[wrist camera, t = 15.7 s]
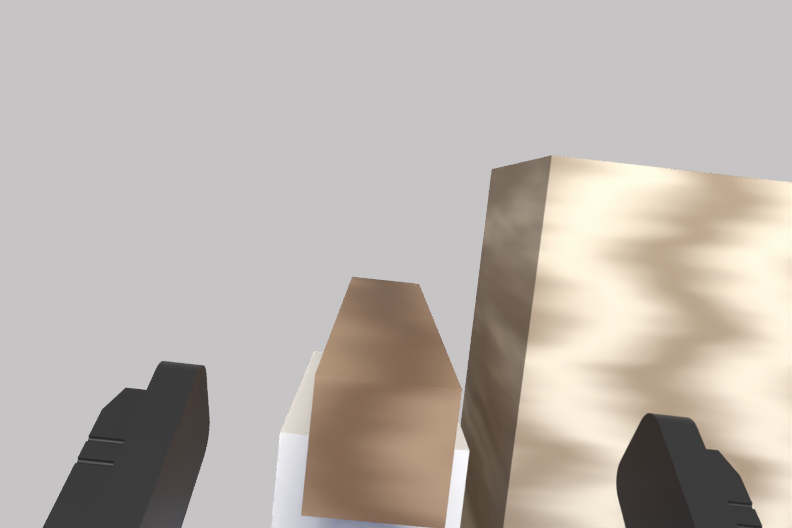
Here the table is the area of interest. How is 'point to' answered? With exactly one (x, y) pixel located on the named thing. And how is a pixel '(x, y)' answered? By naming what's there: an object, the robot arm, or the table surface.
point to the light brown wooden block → (382, 412)
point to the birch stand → (625, 335)
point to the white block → (292, 468)
